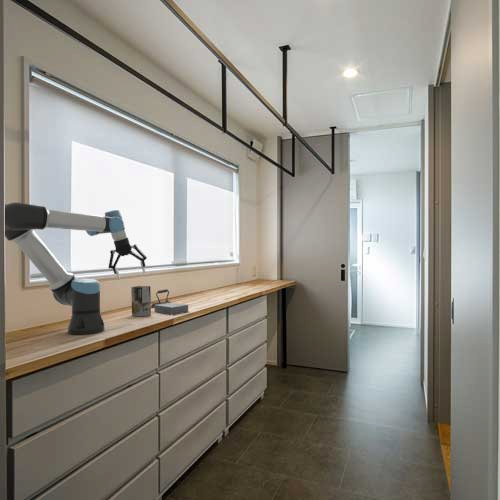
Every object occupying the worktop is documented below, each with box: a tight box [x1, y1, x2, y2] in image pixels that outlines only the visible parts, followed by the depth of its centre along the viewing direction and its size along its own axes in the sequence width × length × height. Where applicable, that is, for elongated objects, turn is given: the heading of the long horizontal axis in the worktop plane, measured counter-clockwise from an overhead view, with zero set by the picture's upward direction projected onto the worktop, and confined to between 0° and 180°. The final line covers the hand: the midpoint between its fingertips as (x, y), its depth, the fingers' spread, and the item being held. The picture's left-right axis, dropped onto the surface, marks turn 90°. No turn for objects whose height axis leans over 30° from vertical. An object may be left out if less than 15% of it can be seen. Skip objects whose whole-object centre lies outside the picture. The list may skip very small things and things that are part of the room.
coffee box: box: [130, 285, 152, 317], centre depth 206 cm, size 9×6×16 cm
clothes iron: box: [151, 288, 172, 309], centre depth 237 cm, size 14×10×11 cm
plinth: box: [154, 302, 189, 315], centre depth 216 cm, size 12×16×4 cm
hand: (132, 275), depth 200 cm, fingers open, 13 cm apart
